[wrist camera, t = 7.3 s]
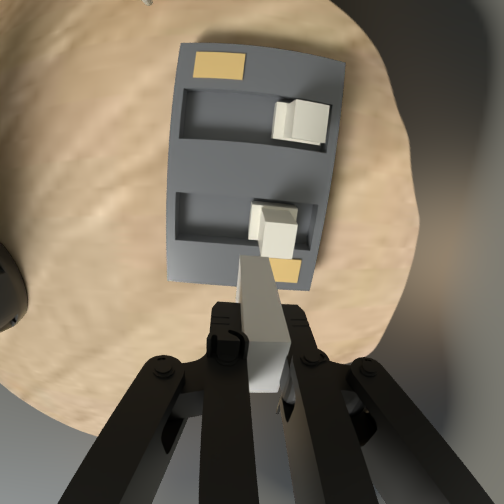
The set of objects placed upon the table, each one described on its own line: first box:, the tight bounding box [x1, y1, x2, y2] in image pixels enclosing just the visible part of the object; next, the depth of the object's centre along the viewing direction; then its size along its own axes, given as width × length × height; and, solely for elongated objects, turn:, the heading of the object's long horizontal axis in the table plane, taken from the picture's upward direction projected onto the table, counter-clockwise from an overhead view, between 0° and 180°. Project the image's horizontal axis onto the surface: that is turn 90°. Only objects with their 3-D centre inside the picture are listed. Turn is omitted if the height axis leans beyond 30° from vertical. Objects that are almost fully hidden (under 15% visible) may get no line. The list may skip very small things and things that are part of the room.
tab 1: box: [248, 201, 298, 259], centre depth 23 cm, size 4×3×6 cm
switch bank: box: [166, 43, 346, 291], centre depth 24 cm, size 14×22×3 cm, turn 174°
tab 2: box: [271, 99, 330, 145], centre depth 20 cm, size 4×3×6 cm
